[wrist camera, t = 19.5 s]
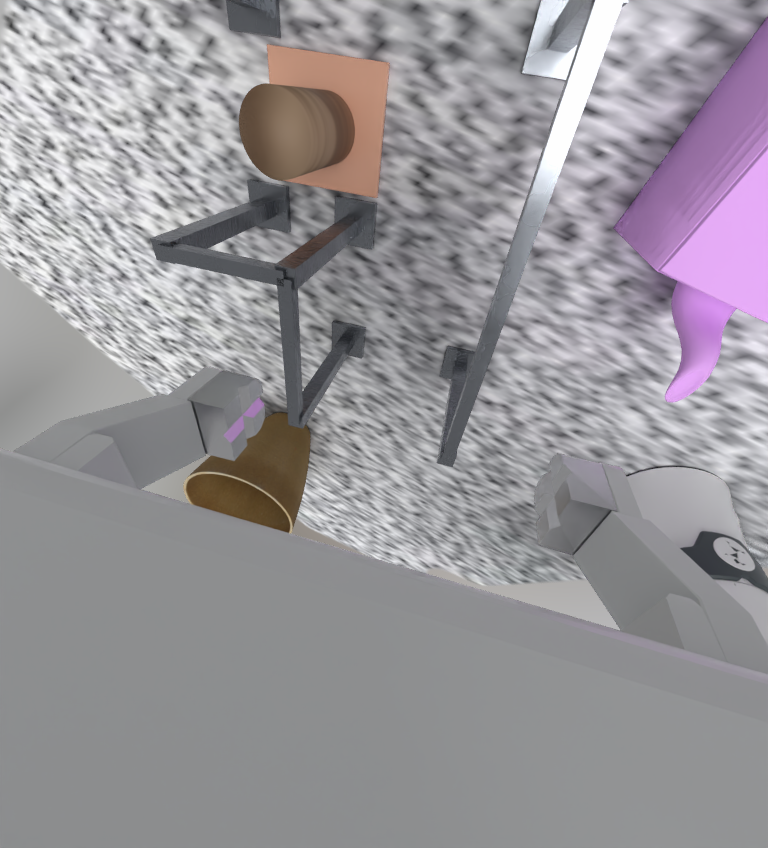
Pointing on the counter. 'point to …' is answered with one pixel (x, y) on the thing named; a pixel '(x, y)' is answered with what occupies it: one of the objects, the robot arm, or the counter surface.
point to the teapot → (711, 215)
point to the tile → (365, 99)
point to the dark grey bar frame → (355, 219)
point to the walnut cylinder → (295, 129)
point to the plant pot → (257, 477)
